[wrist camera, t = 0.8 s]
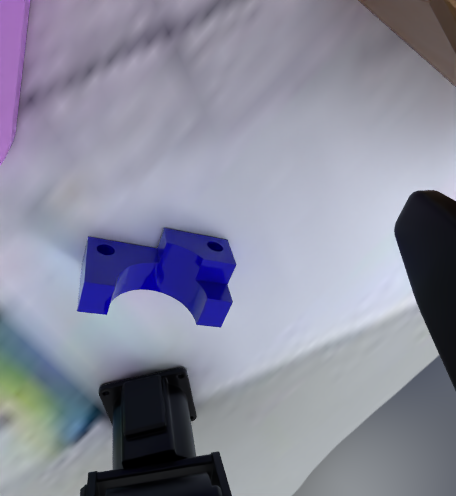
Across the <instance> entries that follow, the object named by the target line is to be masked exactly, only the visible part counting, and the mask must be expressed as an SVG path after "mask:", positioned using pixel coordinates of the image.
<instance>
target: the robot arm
mask: <svg viewBox="0 0 456 496" xmlns="http://www.w3.org/2000/svg"><path fill="white" fill-rule="evenodd" d="M394 232H395V237H396V241H397V244H398V247H399V250H400V253H401V256H402V259H403V262H404V265H405V269H406V272H407V275H408V278H409V281H410V284H411V287H412V290H413V293H414V296H415V299H416V302H417V304H418V307H419V309H420V312H421V314H422V316H423V319H424V321H425V323H426V325H427V328H428V330H429V332H430V334H431V337H432V339H433V341H434V343H435V346H436V348H437V350H438V352H439V355H440V357H441V359H442V361H443V364H444V366H445V368H446V370H447V372H448V375H449V377H450V379H451V382H452V384H453V386H454V388H455V391H456V201H454V200H453V199H451V198H449V197H447V196H445V195H444V194H442V193H440V192H438V191H434V190H426V191H416V192H413V193H412V194H411V195H410V196H409V198H408V200H407V202H406V204H405V206H404V208H403V210H402V211H401V213H400V215H399V217H398V219H397V221H396V223H395V229H394ZM99 396H100V398H101V400H102V403H103V405H104V407H105V409H106V412H107V414H108V416H109V419H110V421H111V423H112V425H113V470H110V471H104V472H97V471H94V472H89V473H88V482H87V485H85V486H84V487H83V488H81V490H80V496H232V495H231V491H230V488H229V484H228V481H227V477H226V474H225V470H224V467H223V463H222V460H221V456H220V453H219V452H213V453H211V454H209V455H203V456H197V457H196V452H195V445H194V439H193V433H192V426H191V421H194V420H195V419H196V411H195V406H194V402H193V397H192V393H191V388H190V384H189V379H188V375H187V371H186V369H185V368H177V369H172V370H168V371H163V372H159V373H154V374H150V375H145V376H141V377H136V378H132V379H127V380H123V381H118V382H114V383H109V384H105V385H102V386H101V387H100V388H99Z"/></svg>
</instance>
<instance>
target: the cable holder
mask: <svg viewBox="0 0 456 496" xmlns="http://www.w3.org/2000/svg"><path fill="white" fill-rule="evenodd" d="M235 266H236V262H235V260H234V257H233V254H232V251H231V249H230V246H229V243H228V240H226V239H220V238H215V237H210V236H205V235H199V234H194V233H189V232H184V231H178V230H173V229H168V228H164V229H163V232H162V235H161V238H160V241H159V245H158V248H152V247H146V246H141V245H135V244H129V243H123V242H117V241H112V240H106V239H100V238H94V237H88V239H87V243H86V248H85V252H84V256H83V261H82V267H81V277H80V287H79V298H78V308H77V311H78V312H87V313H96V314H105V315H107V312H108V309H109V305H110V303H111V302H112V301H113V299H114V298H116V297H117V296H118V295H120V294H122V293H124V292H127V291H131V290H139V289H145V290H153V291H158V292H162V293H164V294H167V295H169V296H171V297H173V298H175V299H177V300H178V301H180V302H181V303H182V304H183V305H185V306H186V307H187V308H188V310H189V311H190V312H191V314H192V315H193V317H194V319H195V321H196V325H204V326H213V327H221V326H222V324H223V322H224V319H225V317H226V315H227V313H228V311H229V309H230V307H231V305H232V303H233V301H232V298H231V295H230V292H229V289H228V285H227V284H228V282H229V280H230V277H231V275H232V273H233V271H234V269H235Z"/></svg>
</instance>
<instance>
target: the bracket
mask: <svg viewBox="0 0 456 496" xmlns="http://www.w3.org/2000/svg"><path fill="white" fill-rule="evenodd" d="M29 8H30V0H0V165H1V164H2V162H3V161H4V159H5V158H6V155H7V153H8V151H9V149H10V147H11V145H12V143H13V140H14V137H15V133H16V126H17V117H18V107H19V98H20V89H21V80H22V71H23V62H24V53H25V44H26V35H27V26H28V17H29Z"/></svg>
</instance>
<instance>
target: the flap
mask: <svg viewBox="0 0 456 496" xmlns="http://www.w3.org/2000/svg"><path fill="white" fill-rule="evenodd" d="M429 5H430V7H431V9H432V11H433V13H434V15H435V17H436V19H437V20H438V22H439V24H440V26H441V28H442V30H443V32H444V34H445V36H446V38H447V39H448V41H449V43H450V45H451V47H452V49H453V51H454V53H455V55H456V8H455V7H454V6H453V5H452V4H451V3H450V2H449V1H448V0H432V1H431V2H430V3H429Z"/></svg>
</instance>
